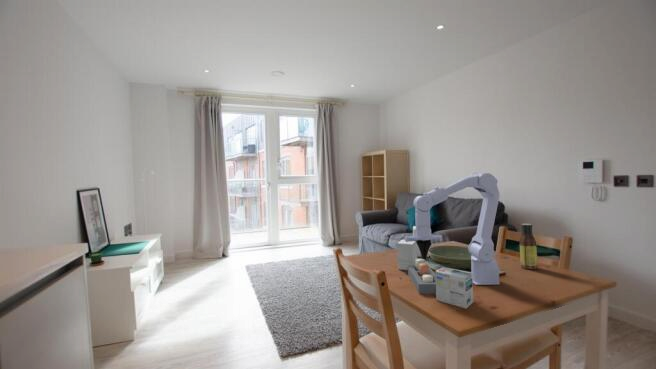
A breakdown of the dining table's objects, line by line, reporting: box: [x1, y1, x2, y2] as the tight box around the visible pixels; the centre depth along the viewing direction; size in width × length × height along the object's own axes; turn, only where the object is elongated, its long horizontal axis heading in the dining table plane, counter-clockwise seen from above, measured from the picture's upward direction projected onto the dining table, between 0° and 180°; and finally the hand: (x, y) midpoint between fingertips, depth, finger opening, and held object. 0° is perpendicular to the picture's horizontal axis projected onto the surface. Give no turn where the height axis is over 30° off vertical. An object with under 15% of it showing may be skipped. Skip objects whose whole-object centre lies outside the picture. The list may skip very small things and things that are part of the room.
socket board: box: [407, 266, 436, 295], centre depth 120 cm, size 9×21×4 cm, turn 176°
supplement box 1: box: [396, 239, 418, 271], centre depth 139 cm, size 7×7×13 cm
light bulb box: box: [434, 266, 474, 309], centre depth 102 cm, size 11×7×11 cm, turn 45°
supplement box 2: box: [412, 225, 433, 258], centre depth 158 cm, size 9×9×15 cm
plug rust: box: [419, 263, 430, 276], centre depth 120 cm, size 4×4×5 cm
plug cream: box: [423, 274, 433, 282], centre depth 114 cm, size 4×4×5 cm
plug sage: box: [416, 258, 426, 271], centre depth 126 cm, size 4×4×5 cm
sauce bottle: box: [519, 223, 538, 270], centre depth 131 cm, size 7×6×20 cm
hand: (423, 258), depth 119 cm, fingers closed
